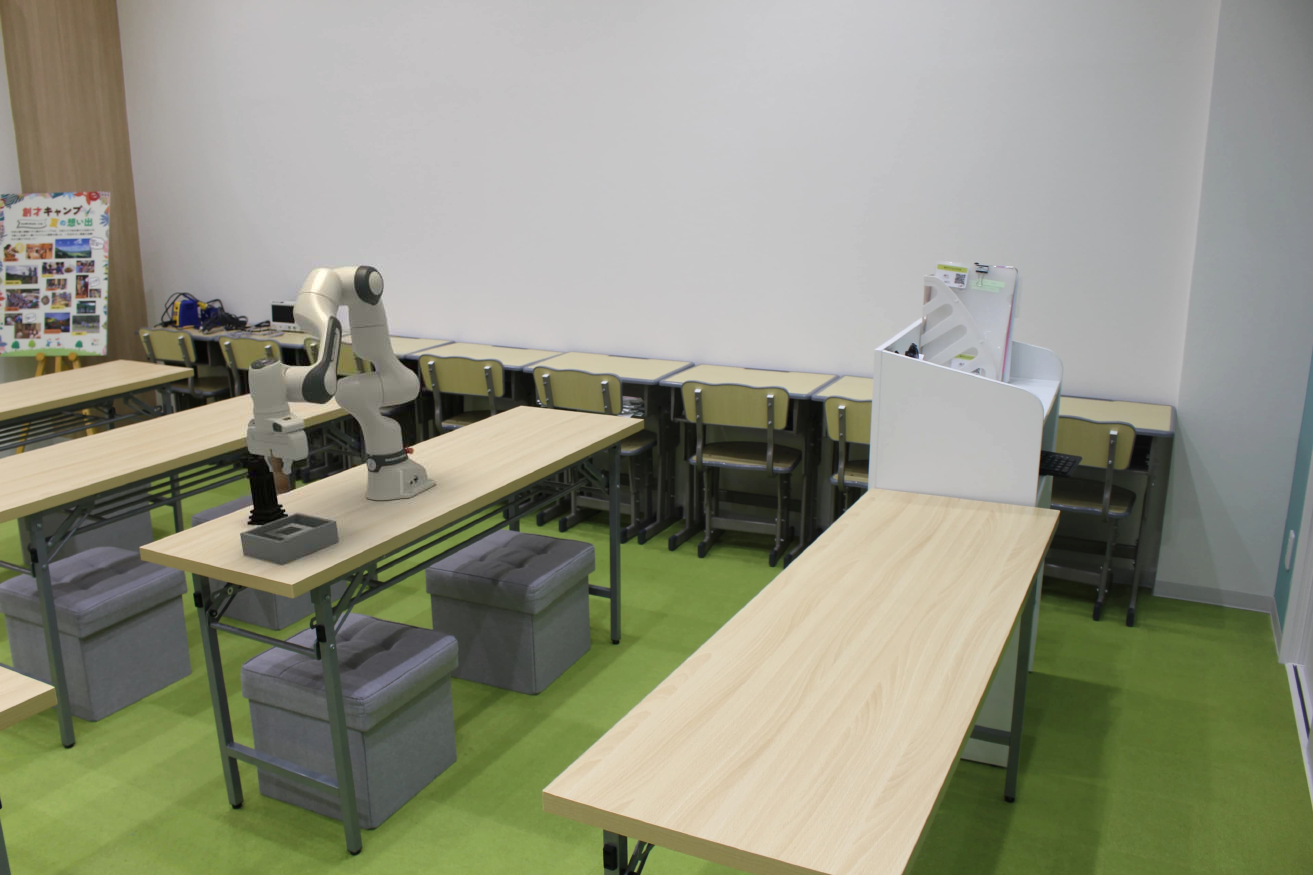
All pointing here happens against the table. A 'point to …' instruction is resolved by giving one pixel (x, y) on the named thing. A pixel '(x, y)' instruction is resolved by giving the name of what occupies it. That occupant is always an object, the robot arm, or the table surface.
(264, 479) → the chess piece
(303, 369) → the robot arm
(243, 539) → the open box
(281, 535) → the grey square frame
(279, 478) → the peg
